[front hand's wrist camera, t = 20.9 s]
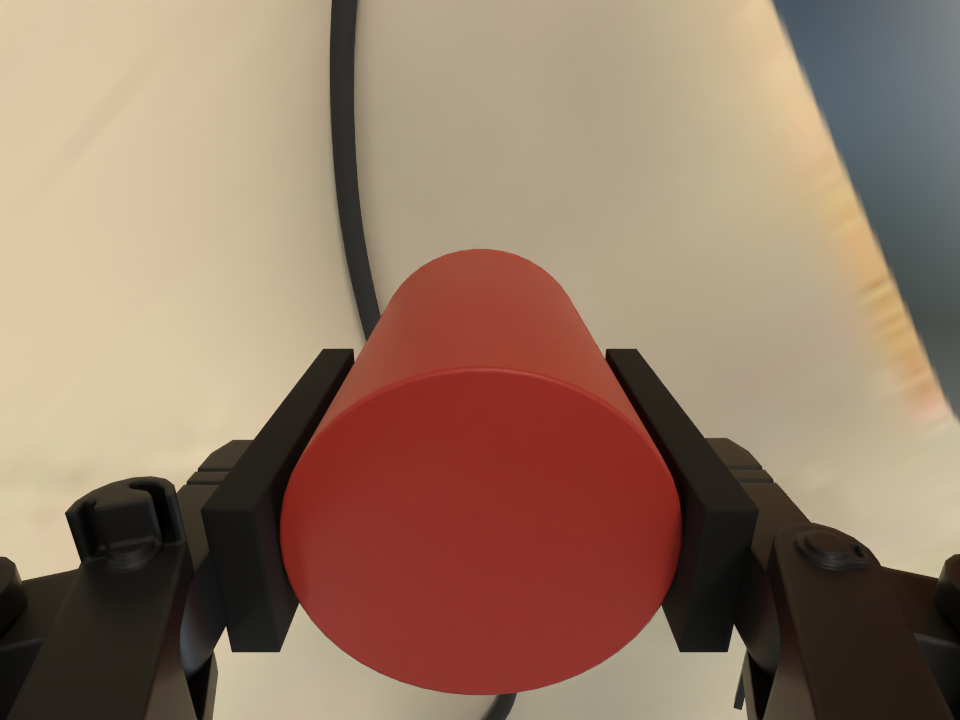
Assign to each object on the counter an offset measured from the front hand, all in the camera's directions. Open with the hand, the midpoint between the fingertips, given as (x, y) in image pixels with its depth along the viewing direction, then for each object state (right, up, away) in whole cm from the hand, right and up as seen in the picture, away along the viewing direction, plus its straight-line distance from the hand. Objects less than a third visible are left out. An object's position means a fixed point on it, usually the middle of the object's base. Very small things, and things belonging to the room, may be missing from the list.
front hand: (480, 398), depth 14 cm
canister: (0, +1, +3) cm, 3 cm away
